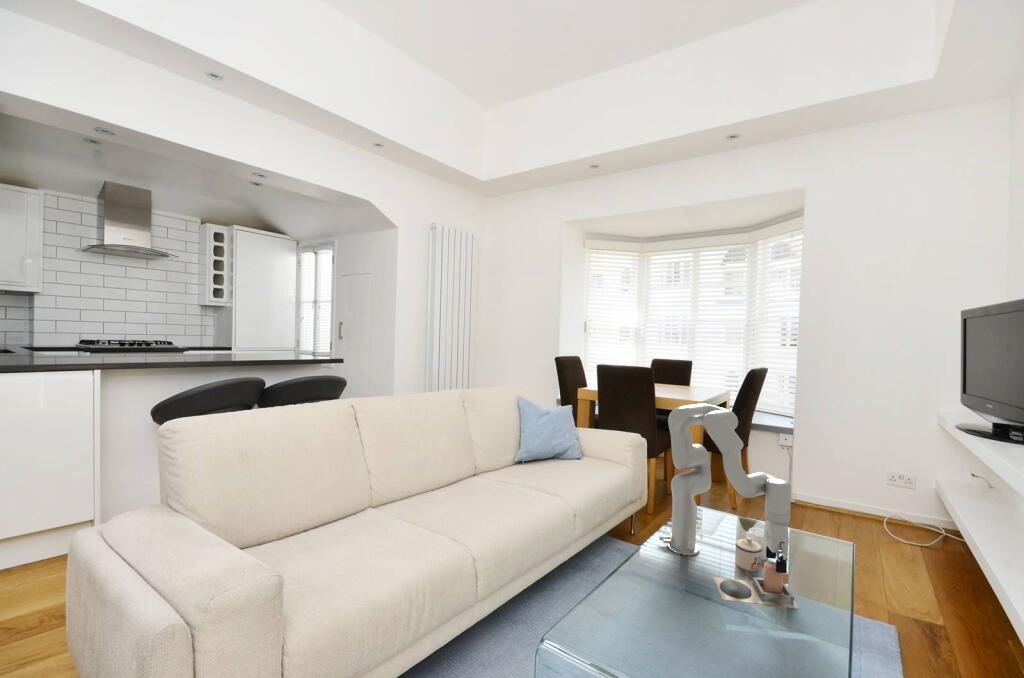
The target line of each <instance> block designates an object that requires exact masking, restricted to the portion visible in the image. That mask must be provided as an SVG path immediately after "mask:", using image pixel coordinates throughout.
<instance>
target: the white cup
mask: <svg viewBox="0 0 1024 678" xmlns="http://www.w3.org/2000/svg"><path fill="white" fill-rule="evenodd" d="M764 529H765V528H759V527H750V528H748V537H749V538H751V539H752V541H754V542H756V543H758V544H759V545H760V546H761V548H762V551H761V561H767V560H768V558H767V557H766V546H767V545H766V543H765V542H764Z"/></svg>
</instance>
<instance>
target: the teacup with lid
mask: <svg viewBox="0 0 1024 678" xmlns="http://www.w3.org/2000/svg"><path fill="white" fill-rule="evenodd" d="M761 551H762V548H761V546H760V545H759V544H758V543H756V542H754V541H752V539H751V538H749V536H748V537H746V538H741V539H738V540H736V541H735V561H734V562H735V564H736V566H738V567H739V568H741V569H743V570H745V571H746V570H747V571H750V572H754V571H756V572H757V571H759V570H761V561H762V560H761Z"/></svg>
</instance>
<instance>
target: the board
mask: <svg viewBox="0 0 1024 678" xmlns="http://www.w3.org/2000/svg"><path fill="white" fill-rule="evenodd" d="M712 578H713V580H714V584H715V587H716V588H717V590H718V594H719V595H720V597H721V600H724V601H732V602H740V603H748V604H758V605H766V606H774V607H782V608H790V609H797V610H799V609H800V607H799V605H798V603H796V601H795V596H794V595H793V593H792V592H791V590H790V589H789V587H788V586H787V584H783V594H775V593H766V592H764V591H763V578H764V577H763V578H762V577H753V576H752V580H745V579H737V578H736V579H735V578H726V577H719V576H712Z"/></svg>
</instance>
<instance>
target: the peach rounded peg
mask: <svg viewBox="0 0 1024 678" xmlns="http://www.w3.org/2000/svg"><path fill="white" fill-rule="evenodd" d="M789 579H790V573H789V572H788V571H787V573H778V572H776V561H765V562H764V563H763V591H764V592H766V593H775V594H783V584H786V585H789V581H790V580H789Z"/></svg>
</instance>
